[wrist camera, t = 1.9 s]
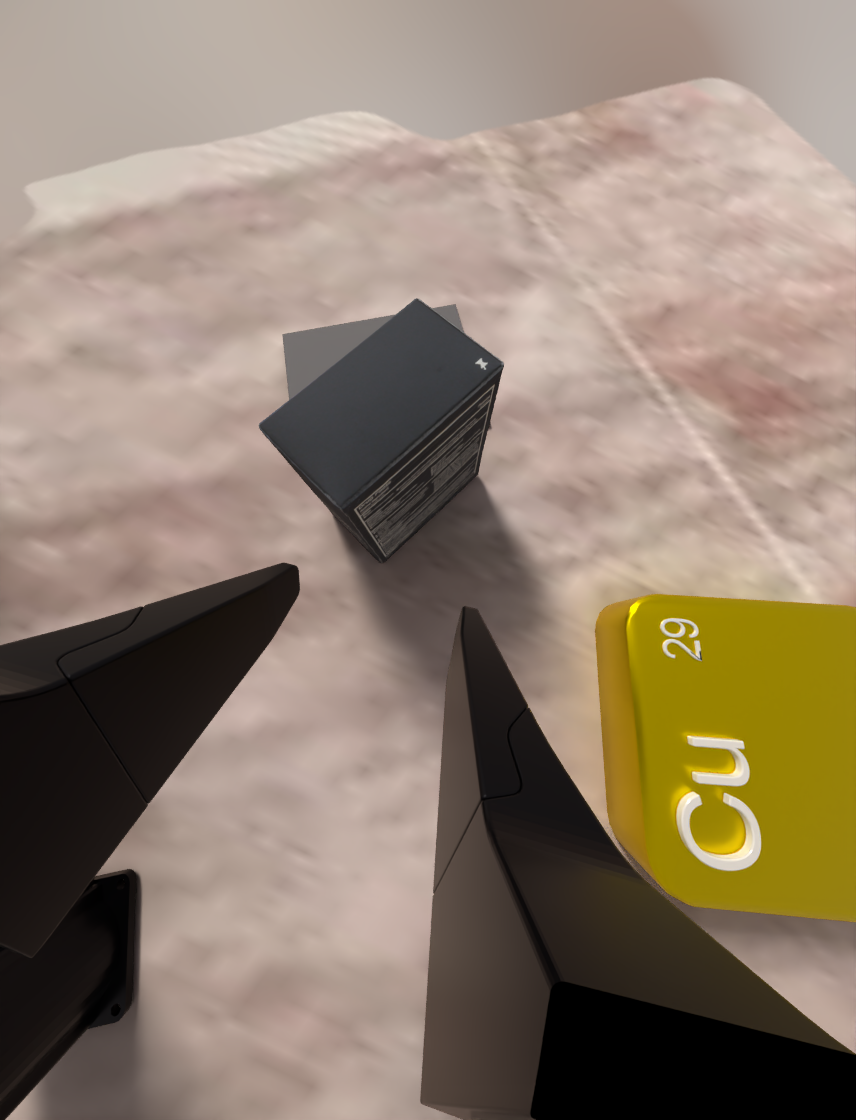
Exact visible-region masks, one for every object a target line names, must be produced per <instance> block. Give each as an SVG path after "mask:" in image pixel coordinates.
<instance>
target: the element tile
mask: <svg viewBox="0 0 856 1120" xmlns="http://www.w3.org/2000/svg"><path fill="white" fill-rule="evenodd" d="M595 637H596V652H597V667H598V682H599V697H600V712H601V727H602V742H603V757H604V772H605V787H606V802H607V813H608V818H609V823H610V826H611V828H612V830H613V833H614V835H615V837H616V839H617V840H618V841H619V842H620V843H621V844H622V846H623V847H624V848H625V849H626V850H627V851H628V852H629V853H630V854H631V855H632V856H633V858H634V859H635V860H636V861H637V862H638V863H639V864H640V865H641V866H642V867H643V868H644V869H645V870H646V871H647V873H648V874H649V875H650V876H651V877H652V878H653V879H654V880H655V881H656V882H657V883H658V884H659V885H660V886H661V887H662V889H663V890H664V891H665V892H666V893H668V894H669V895H671V896H673V897H674V898H676V899H678V900H680V901H681V902H683V903H685V904H688V905H690V906H693V907H701V908H712V909H722V910H733V911H743V912H754V913H764V914H774V915H785V916H795V917H806V918H816V919H827V920H837V921H847V922H856V607H852V606H846V605H831V604H814V603H798V602H781V601H765V600H748V599H731V598H715V597H698V596H682V595H665V594H651V595H646V596H642V597H638V598H634V599H629V600H625V601H621V602H617V603H614V604H611V605H608V606H606V607H605V608H604V609H603V610H602V611H601V612H600V613H599V616H598V619H597V621H596V628H595Z"/></svg>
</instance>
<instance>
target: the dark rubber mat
mask: <svg viewBox="0 0 856 1120" xmlns="http://www.w3.org/2000/svg"><path fill="white" fill-rule="evenodd" d="M432 309H433V310H435V311H436V312H437V313H439V314H440V315H441V316H443V317H444V318H445V319H446V320H448V321H449V322H450V323H452V324H453V325H455V326H456V327H457V328H458V329H460V330H461V331H462V332H464V331H463V328H462V325H461V321H460V318H459V314H458V311H457V308H456V304H454V305H449V306H443V307H437V308H432ZM394 316H395V315H391V316H385V317H379V318H374V319H368V320H362V321H356V322H351V323H345V324H339V325H333V326H328V327H322V328H316V329H310V330H305V331H299V332H293V333H287V334H283V344H284V353H285V363H286V373H287V382H288V392H289V400H290V399H291V398H293V397H294V396H295V395H296V394H298V393H299V392H300V391H301V390H303V389H304V388H305V387H306V386H308V385H309V384H310V383H311V382H313V381H314V380H315V379H317V378H318V377H319V376H320V375H322V374H323V373H324V372H325V371H327V370H328V369H329V368H330V367H331V366H333V365H334V364H335V363H336V362H338V361H339V360H340V359H341V358H343V357H344V356H345V355H346V354H348V353H349V352H350V351H352V350H353V349H354V348H355V347H356V346H358V345H359V344H360V343H361V342H363V341H364V340H365V339H366V338H368V337H369V336H370V335H371V334H373V333H374V332H375V331H376V330H378V329H379V328H380V327H381V326H383V325H384V324H385V323H386V322H387V321H389V320H390V319H391V318H392V317H394ZM489 425H490V423H489Z"/></svg>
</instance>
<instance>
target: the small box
mask: <svg viewBox="0 0 856 1120" xmlns="http://www.w3.org/2000/svg"><path fill="white" fill-rule="evenodd" d="M503 367H504V363H503V361H501V360H500V359H499V358H497V357H496V356H494V355H493V354H492V353H490V352H489V351H487V350H486V349H485V348H484V347H482V346H481V345H480V344H478V343H477V342H476V341H474V340H473V339H472V338H471V337H469V336H468V335H466V334H465V333H464V332H462V331H461V330H460V329H458V328H457V327H456V326H455V325H453V324H452V323H450V322H449V321H448V320H446V319H445V318H444V317H443V316H441V315H440V314H439V313H437V312H436V311H435V310H433V309H432V308H431V307H429V306H428V305H427V304H425V303H424V302H422V301H421V300H420V299H417V298H416V299H414V300H413V301H412V302H411V303H410V304H409V305H407V306H406V307H405V308H404V309H402V310H401V311H400V312H399V313H397V314H396V315H395V316H394V317H392V318H391V319H390V320H389V321H387V322H386V323H385V324H384V325H383V326H381V327H380V328H379V329H378V330H376V331H375V332H374V333H373V334H371V335H370V336H369V337H368V338H366V339H365V340H364V341H363V342H361V343H360V344H359V345H358V346H356V347H355V348H354V349H353V350H352V351H350V352H349V353H348V354H346V355H345V356H344V357H343V358H341V359H340V360H339V361H338V362H336V363H335V364H334V365H333V366H331V367H330V368H329V369H328V370H327V371H325V372H324V373H323V374H322V375H320V376H319V377H318V378H317V379H315V380H314V381H313V382H311V383H310V384H309V385H308V386H306V387H305V388H304V389H303V390H301V391H300V392H299V393H298V394H296V395H295V396H294V397H293V398H291V399H290V400H289V401H287V402H286V403H285V404H284V405H282V406H281V407H280V408H279V409H277V410H276V411H275V412H274V413H272V414H271V415H270V416H269V417H267V418H266V419H265V420H263V421H262V422H261V423H260V424H259V428H260V430H261V431H262V432H263V434H264V435H265V436H266V437H267V438H268V439H269V440H270V442H271V443H272V444H273V445H274V447H276V448H277V450H278V451H279V452H280V453H281V454H282V455H283V457H284V458H285V459H286V460H287V461H288V463H289V464H290V465H291V466H292V467H293V469H294V470H295V471H296V472H297V473H298V474H299V476H300V477H301V478H302V479H303V480H304V482H305V483H306V484H307V485H308V486H309V487H310V488H311V490H312V491H313V492H314V493H315V494H316V495H317V497H318V498H319V499H320V500H321V501H322V502H323V503H324V504H325V505H326V507H327V508H328V509H329V510H330V512H331V513H332V514H333V515H334V516H335V517H336V518H337V519H338V520H339V521H340V522H341V524H342V525H344V526H345V528H346V529H347V530H348V531H349V532H350V533H351V534H352V535H353V536H354V537H355V538H356V539H357V540H358V541H359V542H360V543H361V544H362V545H363V546H364V547H365V548H366V549H367V550H368V551H369V552H370V553H371V554H372V555H373V556H374V557H375V558H376V559H377V560H378V561H379V562H380V563H384V562H385V561H386V560H387V559H388V558H389V557H390V556H391V555H393V554H394V553H395V552H396V551H397V550H398V549H399V548H400V547H401V546H402V545H403V544H404V543H405V542H406V541H408V540H409V539H410V538H411V537H412V536H413V535H414V534H415V533H417V531H418V530H419V529H420V528H421V527H423V526H424V525H425V524H426V523H427V522H428V521H429V520H430V519H431V518H432V517H433V516H434V515H435V514H436V513H437V512H438V511H440V510H441V509H442V508H443V507H444V506H445V505H446V504H447V503H448V502H449V501H450V500H451V499H452V498H453V497H454V496H456V495H457V494H458V493H459V492H460V491H461V490H462V489H463V488H464V487H465V486H466V485H467V484H468V483H469V482H470V481H471V480H472V479H473V478H474V477H475V476H477V475H478V472H479V467H480V461H481V457H482V451H483V448H484V444H485V440H486V435H487V431H488V428H489V423H490V420H491V415H492V412H493V408H494V403H495V400H496V394H497V391H498V387H499V382H500V377H501V374H502V370H503Z"/></svg>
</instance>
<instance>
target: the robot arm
mask: <svg viewBox="0 0 856 1120" xmlns="http://www.w3.org/2000/svg"><path fill="white" fill-rule="evenodd" d="M299 591H300V583H299V570H298V567H297V566H295V565H292V564H288V563H280V564H277V565H274V566H271V567H267V568H264V569H261V570H258V571H254V572H251V573H248V574H245V575H241V576H238V577H235V578H232V579H229V580H225V581H222V582H219V583H216V584H212V585H209V586H206V587H203V588H199V589H196V590H193V591H190V592H186V593H183V594H180V595H177V596H174V597H170V598H167V599H164V600H161V601H157V602H154V603H151V604H148V605H145V606H144V607H138V608H134V609H131V610H128V611H125V612H122V613H118V614H115V615H111V616H108V617H105V618H101V619H98V620H95V621H91V622H87V623H83V624H80V625H76V626H72V627H69V628H65V629H61V630H57V631H54V632H50V633H46V634H42V635H38V636H34V637H30V638H27V639H23V640H19V641H15V642H11V643H7V644H3V645H0V1120H5V1119H6V1118H7V1117H8V1116H9V1115H10V1114H11V1113H12V1112H13V1111H14V1110H15V1108H16V1107H17V1106H18V1105H19V1104H20V1103H21V1102H22V1101H23V1100H24V1098H25V1097H26V1096H27V1095H28V1094H29V1093H30V1092H31V1091H32V1090H33V1089H34V1087H35V1086H36V1085H37V1084H38V1083H39V1082H40V1081H41V1080H42V1079H43V1077H44V1076H45V1075H46V1074H47V1073H48V1072H49V1071H50V1070H51V1069H52V1068H53V1066H54V1065H55V1064H56V1063H57V1062H58V1061H59V1060H60V1059H61V1058H62V1056H63V1055H64V1054H65V1053H66V1052H67V1051H68V1050H69V1049H70V1048H71V1047H72V1045H73V1044H74V1043H75V1042H76V1041H77V1040H78V1039H79V1038H80V1037H81V1036H82V1034H83V1033H84V1032H85V1031H86V1030H87V1029H90V1028H94V1027H98V1026H102V1025H106V1024H111V1023H115V1022H117V1021H119V1020H120V1019H121V1018H122V1017H123V1016H124V1014H125V1013H126V1012H127V1011H128V1010H129V1008H130V1006H131V1003H132V989H133V957H134V926H135V894H136V874H135V872H134V871H133V870H131V869H127V870H122V871H118V872H113V873H109V874H104V875H100V876H95V875H96V874H97V873H98V871H99V870H100V869H101V867H102V866H103V865H104V863H105V862H106V861H107V859H108V858H109V857H110V855H111V854H112V853H113V851H114V850H115V849H116V847H117V846H118V845H119V843H120V842H121V841H122V839H123V838H124V837H125V835H126V834H127V833H128V831H129V830H130V829H131V827H132V826H133V825H134V823H135V822H136V821H137V819H138V818H139V817H140V815H141V814H142V813H143V811H144V810H145V809H146V807H147V806H148V804H147V803H150V802H151V800H152V799H153V798H154V796H155V795H156V794H157V792H158V791H159V790H160V788H161V787H162V786H163V784H164V783H165V782H166V780H167V779H168V778H169V776H170V775H171V774H172V772H173V771H174V770H175V768H176V767H177V766H178V764H179V763H180V762H181V760H182V759H183V758H184V756H185V755H186V754H187V752H188V751H189V750H190V748H191V747H192V746H193V744H194V743H195V742H196V740H197V739H198V738H199V736H200V735H201V734H202V732H203V731H204V730H205V728H206V727H207V726H208V724H209V723H210V722H211V720H212V719H213V718H214V716H215V715H216V714H217V712H218V711H219V710H220V708H221V707H222V706H223V704H224V703H225V702H226V700H227V699H228V698H229V696H230V695H231V694H232V692H233V691H234V690H235V688H236V687H237V686H238V684H239V683H240V682H241V680H242V679H243V678H244V676H245V675H246V674H247V672H248V671H249V670H250V668H251V667H252V666H253V664H254V663H255V662H256V660H257V659H258V658H259V656H260V655H261V654H262V652H263V651H264V650H265V648H266V647H267V646H268V644H269V643H270V642H271V640H272V639H273V637H274V636H275V634H276V633H277V631H278V629H279V627H280V626H281V624H282V622H283V621H284V619H285V617H286V616H287V614H288V612H289V611H290V609H291V607H292V605H293V604H294V602H295V600H296V599H297V597H298V595H299ZM123 879H124V880H125V884H124V883H123ZM433 893H434V895H433V902H432V919H431V935H430V951H429V968H428V984H427V1000H426V1017H425V1033H424V1049H423V1066H422V1082H421V1098H420V1102H421V1104H423V1105H426V1106H428V1107H431V1108H434V1109H436V1110H439V1111H442V1112H444V1113H447V1114H450V1115H452V1116H455V1117H458V1118H460V1119H463V1120H856V1054H855V1053H854V1052H852V1051H851V1050H849V1049H848V1048H847V1047H845V1046H844V1045H842V1044H841V1043H839V1042H838V1041H837V1040H835V1039H834V1038H833V1037H831V1036H830V1035H829V1034H828V1033H826V1032H825V1031H824V1030H823V1029H821V1028H820V1027H819V1026H818V1025H816V1024H815V1023H814V1022H813V1021H811V1020H810V1019H809V1018H808V1017H806V1016H805V1015H804V1014H803V1013H801V1012H800V1011H799V1010H798V1009H797V1008H795V1007H794V1006H793V1005H792V1004H791V1003H790V1002H788V1001H787V1000H786V999H785V998H784V997H782V996H781V995H780V994H779V993H778V992H776V991H775V990H774V989H773V988H772V987H771V986H769V985H768V984H767V983H766V982H765V981H763V980H762V979H761V978H760V977H759V976H757V975H756V974H755V973H754V972H753V971H752V970H750V969H749V968H748V967H747V966H746V965H744V964H743V963H742V962H741V961H740V960H739V959H737V958H736V957H735V956H734V955H733V954H731V953H730V952H729V951H728V950H727V949H725V948H724V947H723V946H722V945H721V944H720V943H718V942H717V941H716V940H715V939H714V938H712V937H711V936H710V935H709V934H708V933H706V932H705V931H704V930H703V929H702V928H701V927H699V926H698V925H697V924H696V923H695V922H693V921H692V920H691V919H690V918H689V917H687V916H686V915H685V914H684V913H683V912H682V911H680V910H679V909H678V908H677V907H676V906H674V905H673V904H672V903H671V902H670V901H668V900H667V899H666V898H665V897H664V896H663V895H661V894H660V893H659V892H658V891H657V890H655V889H654V888H653V887H652V886H651V885H650V884H649V883H647V882H646V881H645V880H644V879H643V878H642V877H641V876H640V875H639V874H638V873H637V871H636V870H635V869H634V868H633V867H632V866H631V865H630V863H629V862H628V861H627V860H626V859H625V858H624V856H623V855H622V854H621V852H620V851H619V850H618V849H617V847H616V846H615V844H614V843H613V841H612V840H611V839H610V837H609V836H608V834H607V833H606V831H605V830H604V828H603V827H602V825H601V824H600V822H599V820H598V819H597V817H596V816H595V814H594V813H593V811H592V810H591V808H590V807H589V805H588V804H587V802H586V801H585V799H584V798H583V796H582V795H581V793H580V791H579V790H578V788H577V787H576V785H575V784H574V782H573V781H572V779H571V778H570V776H569V775H568V773H567V772H566V770H565V769H564V767H563V765H562V764H561V762H560V760H559V759H558V757H557V756H556V754H555V752H554V751H553V749H552V748H551V746H550V744H549V743H548V741H547V739H546V737H545V736H544V734H543V732H542V730H541V728H540V727H539V725H538V723H537V721H536V719H535V717H534V716H533V714H532V712H531V710H530V708H528V704H527V702H526V701H525V699H524V697H523V695H522V693H521V691H520V689H519V687H518V685H517V683H516V681H515V680H514V678H513V676H512V674H511V672H510V670H509V668H508V666H507V664H506V662H505V661H504V659H503V657H502V655H501V653H500V651H499V649H498V647H497V645H496V643H495V641H494V640H493V638H492V636H491V634H490V632H489V630H488V628H487V626H486V624H485V622H484V621H483V619H482V617H481V615H480V613H479V611H478V610H477V609H475V608H471V607H467V606H464V607H463V608H462V611H461V614H460V618H459V622H458V626H457V629H456V634H455V639H454V644H453V649H452V655H451V660H450V665H449V670H448V676H447V682H446V692H445V708H444V725H443V741H442V757H441V774H440V790H439V806H438V822H437V839H436V855H435V871H434V887H433ZM118 1004H119V1005H120V1007H119V1006H118Z"/></svg>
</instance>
